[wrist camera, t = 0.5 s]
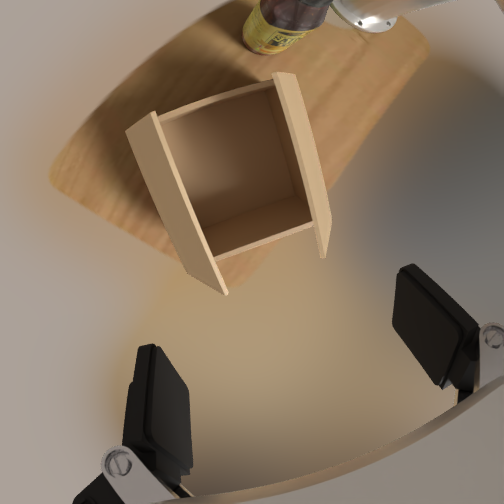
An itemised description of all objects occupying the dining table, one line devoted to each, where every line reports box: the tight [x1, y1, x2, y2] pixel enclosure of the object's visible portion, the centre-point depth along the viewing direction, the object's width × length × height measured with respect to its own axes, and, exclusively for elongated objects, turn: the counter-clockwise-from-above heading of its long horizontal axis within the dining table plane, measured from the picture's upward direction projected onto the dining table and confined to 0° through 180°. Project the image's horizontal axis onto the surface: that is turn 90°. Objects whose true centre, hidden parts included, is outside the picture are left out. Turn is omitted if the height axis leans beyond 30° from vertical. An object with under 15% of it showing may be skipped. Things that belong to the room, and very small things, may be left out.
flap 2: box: [272, 72, 332, 259], centre depth 24 cm, size 7×16×1 cm
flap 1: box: [125, 111, 229, 296], centre depth 24 cm, size 7×16×1 cm
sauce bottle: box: [242, 0, 333, 55], centre depth 20 cm, size 7×6×20 cm
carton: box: [158, 79, 314, 262], centre depth 31 cm, size 16×16×10 cm
